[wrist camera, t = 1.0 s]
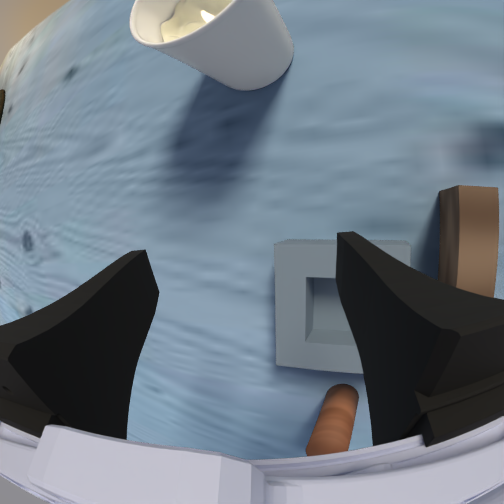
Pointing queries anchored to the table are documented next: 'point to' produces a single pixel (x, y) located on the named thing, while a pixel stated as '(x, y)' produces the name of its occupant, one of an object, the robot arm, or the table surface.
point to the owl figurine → (2, 102)
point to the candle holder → (218, 38)
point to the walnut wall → (469, 238)
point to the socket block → (316, 305)
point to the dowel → (334, 422)
